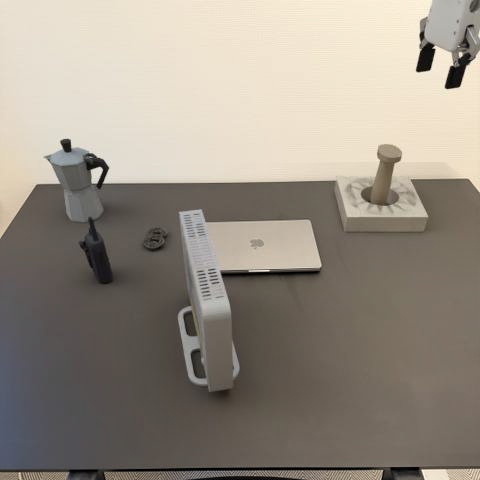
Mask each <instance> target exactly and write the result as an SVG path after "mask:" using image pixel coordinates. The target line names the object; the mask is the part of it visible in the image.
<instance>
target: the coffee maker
mask: <svg viewBox="0 0 480 480" xmlns="http://www.w3.org/2000/svg"><path fill="white" fill-rule="evenodd" d="M59 144H60V145H61V147H62V148H61V149H59V150H57V151H56V152H54V153H51V154H47V155H44V156H43V158H44V159H46V160H47V162H49V164H50V165H51V167H52V170H53V172H54V174H55V176H56V178H57V181H58V183H59V184H60V186H61V188H63V197H64V204H65V212H66V216H67V217H68V219H69V220H70V222H72V223H79V224H81V223H82V224H87V223H89V221H88V217H89V216H91V217H92V219H93V221H95V220H98V219H100V217H101V216H102V215H103V213H104V212H105V210H104V207H103V205H102V202H101V200H100V198H99V196H98V194H97V192H96V189H95V187H96V188H97V189H98V190H101V189H102V187H103V185H104V182H105V180H106V177H107V175H108V173H109V170H110V166H109V165H108V163H107V162H106V160H105V159H104V158H101V157H98V156H97V155H96V154H95V153H94V152H93V153H92V152H90V151H89V150H87V149H84V148H81V147H78V146H77V147H72V140H71V139H70V138H63V139H60V141H59ZM98 168H101V170H102V171H101V174H100V176H99V178H98V181H97V183H96V185H95V187H94V185H93V183H92V177H93V176H92V170H95V169H98Z"/></svg>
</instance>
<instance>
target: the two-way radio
mask: <svg viewBox="0 0 480 480" xmlns="http://www.w3.org/2000/svg"><path fill="white" fill-rule="evenodd" d="M88 221H89V222H88V224H89V227H88V232H87V233H86V234H85V235H84V240H79V241H78V245H79V248H81V249H82V250H83V252H84V254H85V257H86V261H87V263H88V266H89V268H90V269H92V273H93V275H94V278H95V279H96V281H97V282H98V283H100V284H107V283H111V282H112V281H113V280H114V275H113V270H112V266H111V262H110V258H109V255H108V253H107V249H106V245H105V241H104V239H103V237H102V235H101V234H100V233H99V232H98V231H97V228H96V225H95V222H94V220H93V219H92V217H91V216H89V217H88Z"/></svg>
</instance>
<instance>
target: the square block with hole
mask: <svg viewBox="0 0 480 480" xmlns="http://www.w3.org/2000/svg"><path fill="white" fill-rule="evenodd" d="M375 177H376V175H374V176H373V175H372V176H368V175H367V176H365V175H363V176H362V175H361V176H360V175H359V176H357V175H355V176H354V175H353V176H351V175H350V176H348V175H347V176H344V175H343V176H341V175H340V176H339V175H338V176H335V181H334V187H333V192H334V196H335V199H336V202H337V207H338V212H339V215H340V219H341V224H342V227H343V231H344V233H358V232H359V233H376V232H377V233H424V232H425V228H426V226H427V224H428V219H429V215H428V213H427V211H426V209H425V207H424V205H423V202H422V201H421V199H420V196H419V194H418V192H417V190H416V188H415V186H414V184H413V182H412V180H411V178H410V176H408V175H405V176H404V175H403V176H402V175H396V176H395V175H392V180H391V185H390V191H389V194H388V198H387V201H386V203H385V204H387V205H384V206H379V205H374V204H371V203H370V202H369V201H370V200H371V193H372V188H373V184H374V181H375Z"/></svg>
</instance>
